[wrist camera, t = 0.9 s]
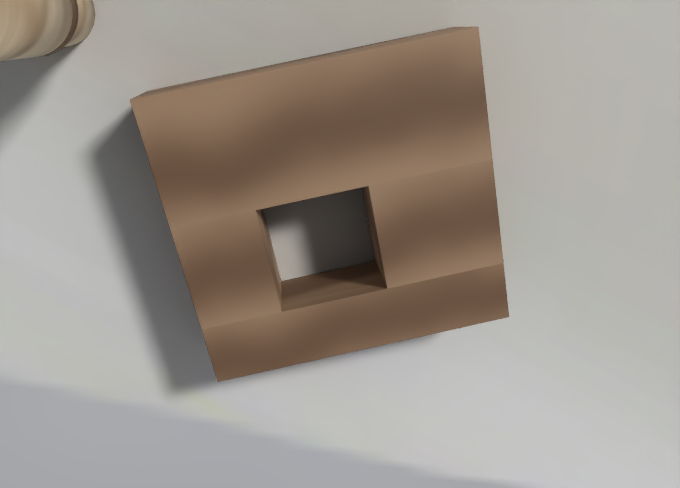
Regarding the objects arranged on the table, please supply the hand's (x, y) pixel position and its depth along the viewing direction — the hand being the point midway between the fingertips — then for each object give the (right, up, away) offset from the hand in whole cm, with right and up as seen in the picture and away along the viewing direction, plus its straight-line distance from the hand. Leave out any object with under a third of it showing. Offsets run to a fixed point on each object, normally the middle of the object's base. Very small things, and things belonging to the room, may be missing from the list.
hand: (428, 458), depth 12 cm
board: (-2, +7, +21) cm, 22 cm away
